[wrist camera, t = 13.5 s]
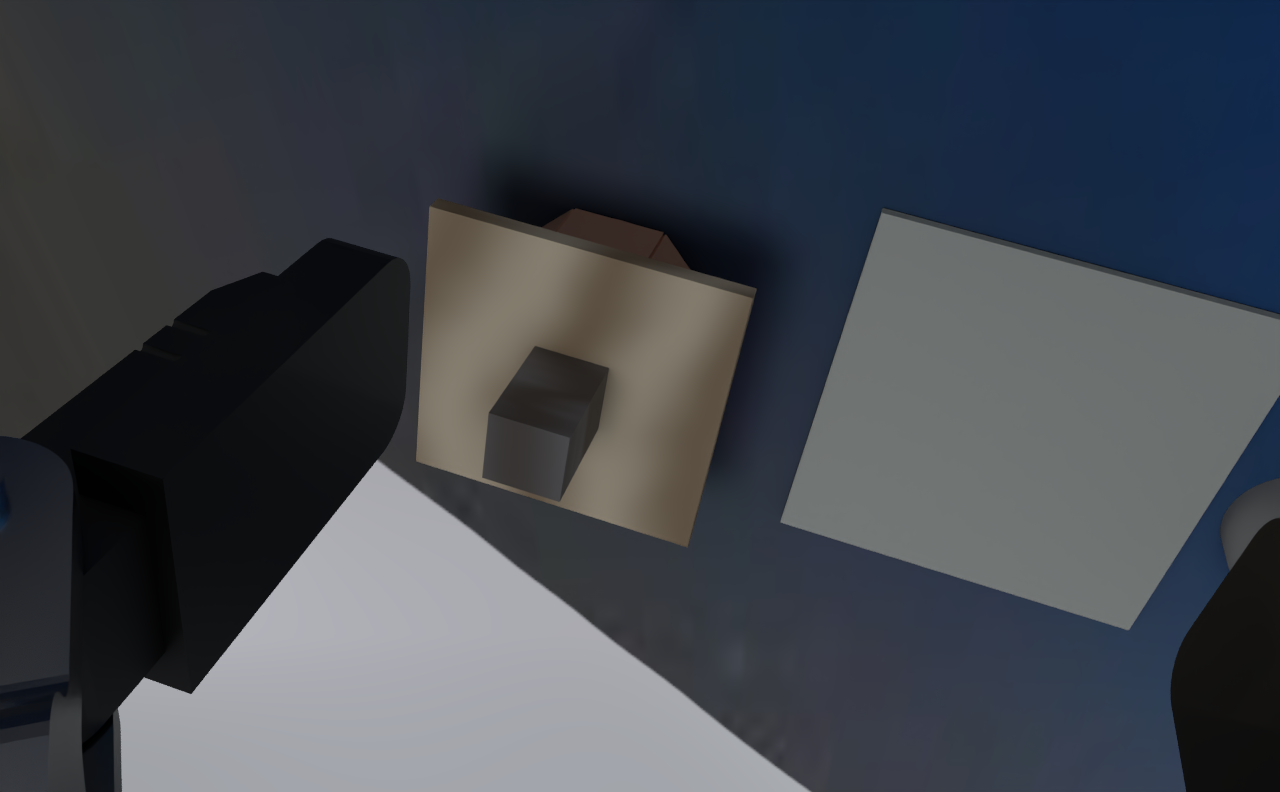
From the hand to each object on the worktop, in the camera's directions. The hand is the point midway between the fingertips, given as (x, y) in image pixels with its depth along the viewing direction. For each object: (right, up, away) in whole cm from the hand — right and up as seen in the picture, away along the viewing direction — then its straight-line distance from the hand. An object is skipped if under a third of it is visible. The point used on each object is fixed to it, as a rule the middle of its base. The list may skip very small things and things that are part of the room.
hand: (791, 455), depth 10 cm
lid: (-4, +1, +35) cm, 35 cm away
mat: (+15, -1, +37) cm, 40 cm away
